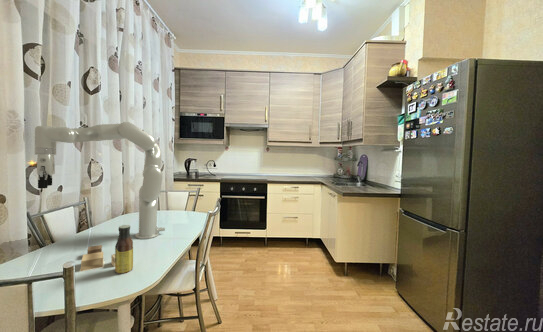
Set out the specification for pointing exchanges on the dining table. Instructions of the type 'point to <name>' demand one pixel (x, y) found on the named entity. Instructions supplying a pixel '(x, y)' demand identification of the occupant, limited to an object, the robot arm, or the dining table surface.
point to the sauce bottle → (124, 251)
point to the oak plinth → (92, 261)
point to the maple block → (113, 260)
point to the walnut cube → (94, 249)
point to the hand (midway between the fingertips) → (45, 186)
